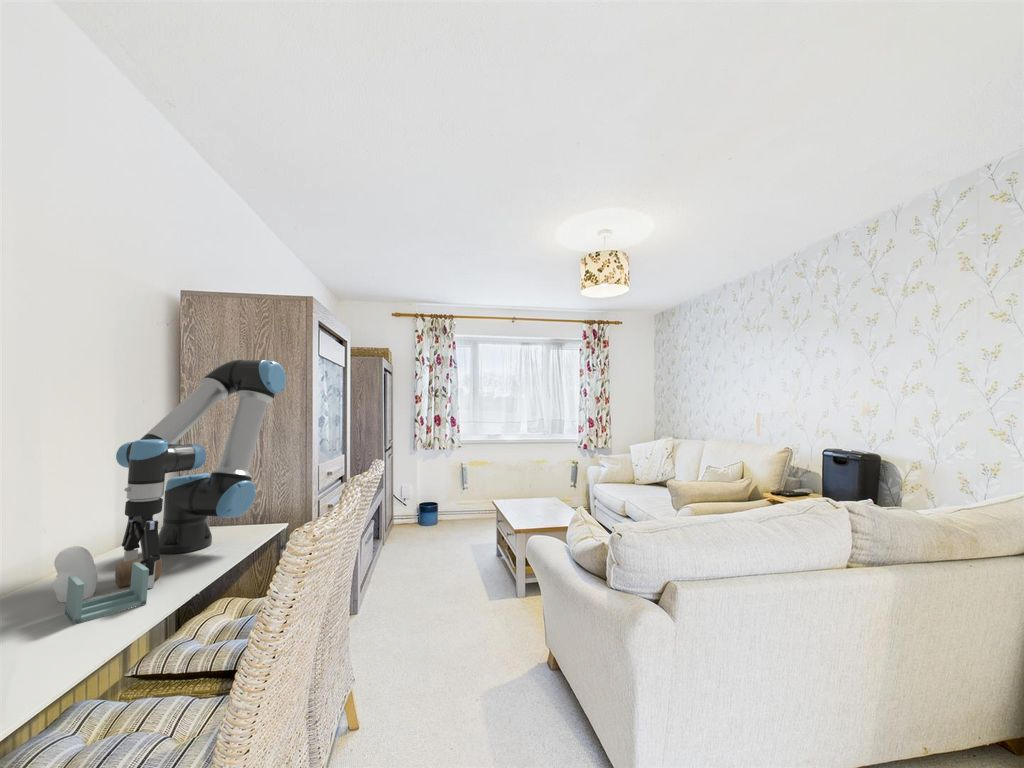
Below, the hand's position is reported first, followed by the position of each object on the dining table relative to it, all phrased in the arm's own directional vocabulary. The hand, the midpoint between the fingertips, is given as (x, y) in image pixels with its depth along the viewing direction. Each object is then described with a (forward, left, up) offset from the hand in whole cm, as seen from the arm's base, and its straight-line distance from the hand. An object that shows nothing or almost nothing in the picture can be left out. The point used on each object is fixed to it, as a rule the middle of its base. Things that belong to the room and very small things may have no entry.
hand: (137, 581), depth 113 cm
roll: (0, 0, +3) cm, 3 cm away
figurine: (+12, 0, 0) cm, 12 cm away
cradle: (+9, +13, 0) cm, 16 cm away
